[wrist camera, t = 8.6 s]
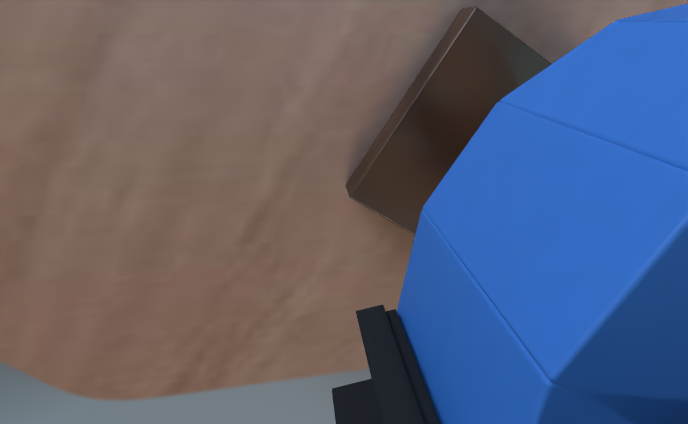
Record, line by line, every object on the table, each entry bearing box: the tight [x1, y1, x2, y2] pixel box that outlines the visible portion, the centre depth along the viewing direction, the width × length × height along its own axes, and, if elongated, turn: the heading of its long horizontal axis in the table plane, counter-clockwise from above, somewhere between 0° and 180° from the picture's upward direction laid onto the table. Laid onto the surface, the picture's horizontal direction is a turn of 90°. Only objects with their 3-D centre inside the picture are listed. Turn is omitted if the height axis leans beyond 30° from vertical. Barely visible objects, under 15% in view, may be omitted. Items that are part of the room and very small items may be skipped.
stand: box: [346, 7, 551, 236], centre depth 17 cm, size 8×8×10 cm
